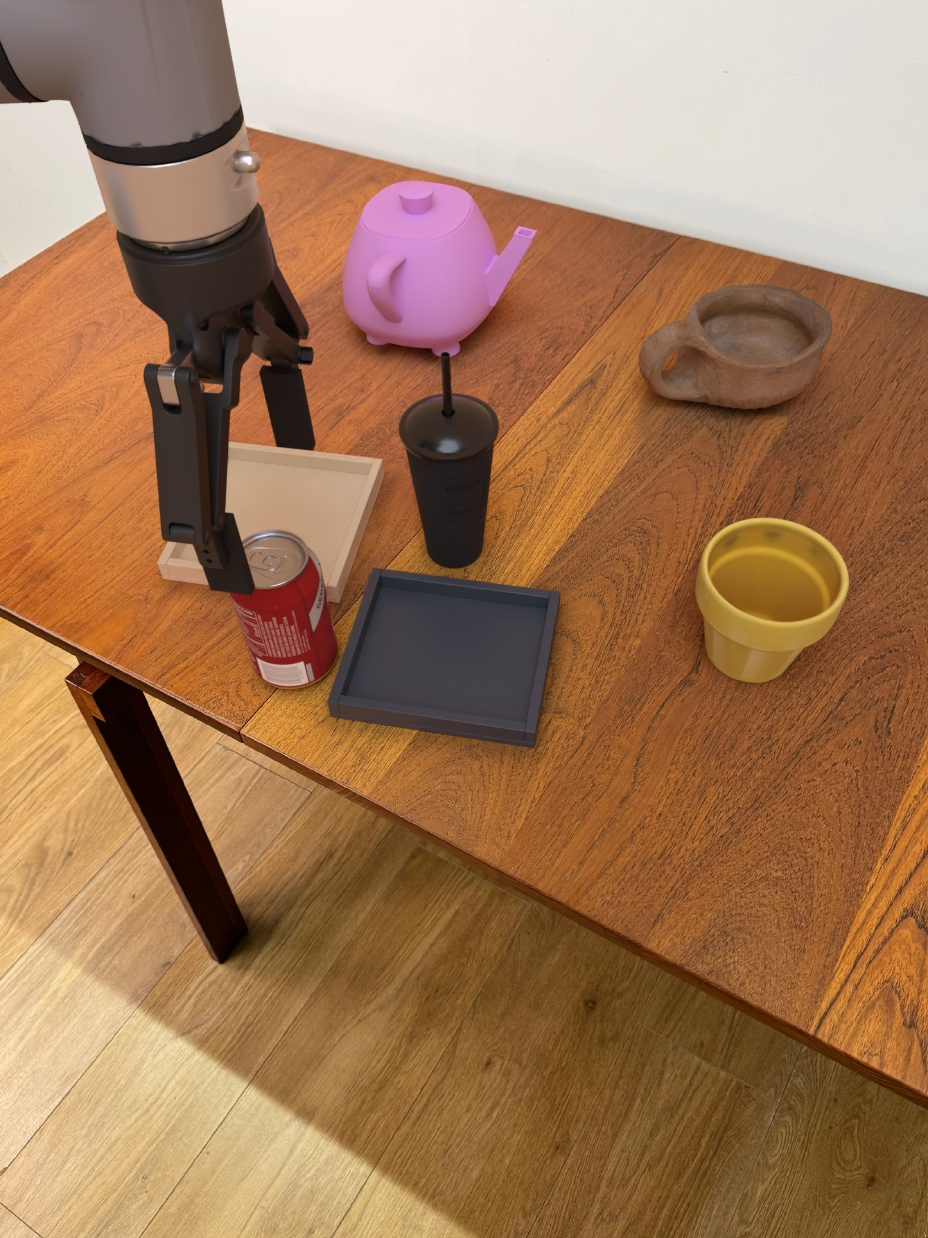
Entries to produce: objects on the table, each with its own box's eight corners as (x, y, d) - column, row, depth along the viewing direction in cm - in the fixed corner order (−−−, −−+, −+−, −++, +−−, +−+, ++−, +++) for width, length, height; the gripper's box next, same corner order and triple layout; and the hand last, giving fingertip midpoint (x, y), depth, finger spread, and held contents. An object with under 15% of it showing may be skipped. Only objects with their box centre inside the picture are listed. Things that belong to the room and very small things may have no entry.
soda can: (316, 704, 76) (290, 604, 67) (238, 680, 78) (203, 579, 69) (352, 638, 80) (333, 535, 71) (277, 617, 82) (249, 513, 72)
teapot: (499, 408, 98) (498, 270, 86) (313, 372, 102) (288, 236, 90) (553, 297, 109) (559, 162, 98) (383, 269, 114) (370, 137, 102)
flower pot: (819, 713, 74) (855, 633, 67) (679, 696, 76) (699, 615, 68) (813, 608, 81) (845, 523, 73) (684, 593, 82) (703, 508, 75)
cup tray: (163, 579, 85) (156, 562, 83) (225, 457, 94) (220, 440, 93) (339, 603, 83) (336, 586, 81) (384, 475, 92) (382, 458, 91)
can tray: (330, 717, 76) (327, 701, 74) (375, 583, 84) (372, 567, 82) (534, 748, 73) (535, 732, 72) (559, 608, 82) (560, 591, 80)
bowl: (709, 462, 90) (705, 357, 84) (617, 414, 100) (608, 318, 95) (856, 393, 95) (863, 290, 89) (754, 354, 106) (754, 260, 100)
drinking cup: (482, 507, 89) (478, 313, 74) (511, 567, 85) (514, 374, 69) (400, 528, 88) (379, 335, 72) (425, 590, 83) (408, 398, 68)
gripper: (165, 372, 42) (261, 668, 59) (327, 105, 57) (367, 400, 74) (3, 356, 43) (142, 651, 60) (204, 98, 58) (270, 390, 75)
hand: (266, 512), depth 67 cm, fingers open, 13 cm apart
